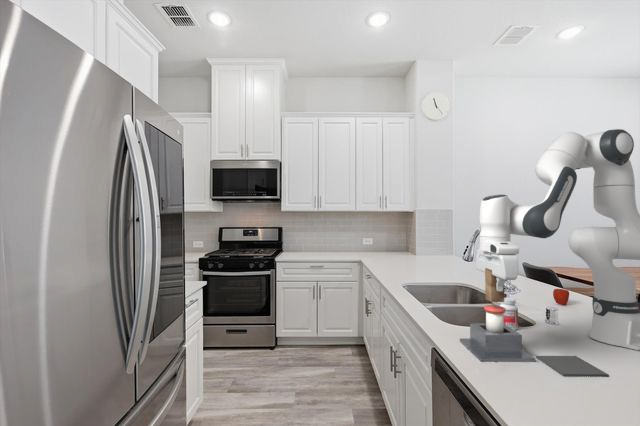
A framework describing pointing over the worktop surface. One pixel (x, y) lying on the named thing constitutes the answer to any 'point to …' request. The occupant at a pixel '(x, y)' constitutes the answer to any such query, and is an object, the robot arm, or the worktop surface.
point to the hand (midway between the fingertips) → (494, 289)
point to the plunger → (494, 318)
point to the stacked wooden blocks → (492, 288)
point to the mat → (571, 366)
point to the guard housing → (496, 345)
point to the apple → (561, 296)
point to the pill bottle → (510, 313)
